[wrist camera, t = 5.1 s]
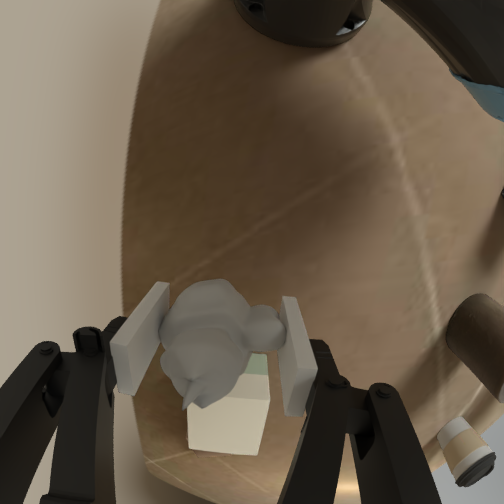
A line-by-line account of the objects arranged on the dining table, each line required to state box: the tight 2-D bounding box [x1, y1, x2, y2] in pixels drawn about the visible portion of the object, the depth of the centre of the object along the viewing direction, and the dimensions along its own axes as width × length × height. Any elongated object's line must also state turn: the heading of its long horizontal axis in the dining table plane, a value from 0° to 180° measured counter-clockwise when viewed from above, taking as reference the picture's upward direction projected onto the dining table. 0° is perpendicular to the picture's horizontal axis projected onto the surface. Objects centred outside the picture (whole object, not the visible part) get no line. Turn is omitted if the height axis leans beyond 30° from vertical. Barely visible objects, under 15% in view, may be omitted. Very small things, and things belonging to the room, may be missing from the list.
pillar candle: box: [446, 294, 504, 403], centre depth 26 cm, size 10×10×15 cm
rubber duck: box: [159, 279, 286, 411], centre depth 13 cm, size 5×7×8 cm
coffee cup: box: [437, 417, 496, 487], centre depth 33 cm, size 9×9×15 cm
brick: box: [185, 428, 231, 457], centre depth 35 cm, size 5×5×4 cm
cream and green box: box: [187, 353, 270, 455], centre depth 30 cm, size 10×8×8 cm
